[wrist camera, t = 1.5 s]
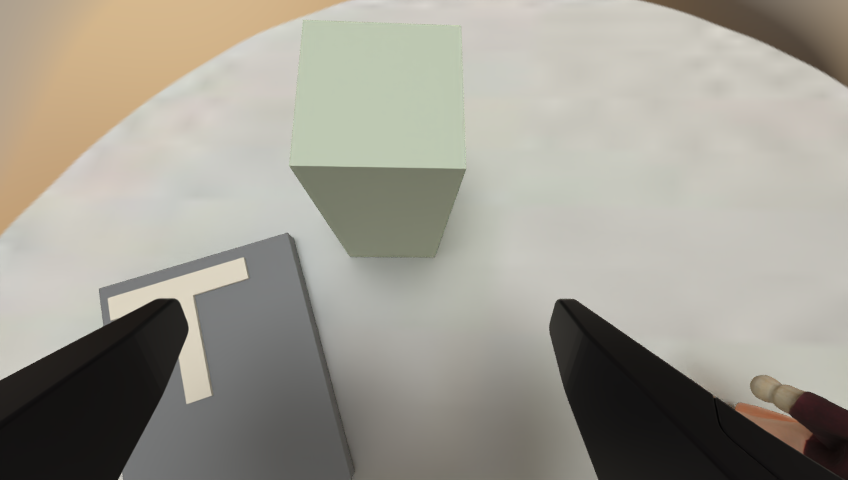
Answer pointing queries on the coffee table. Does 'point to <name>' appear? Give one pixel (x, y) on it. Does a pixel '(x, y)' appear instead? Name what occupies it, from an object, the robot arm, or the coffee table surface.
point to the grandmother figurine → (802, 422)
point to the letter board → (239, 373)
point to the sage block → (380, 132)
